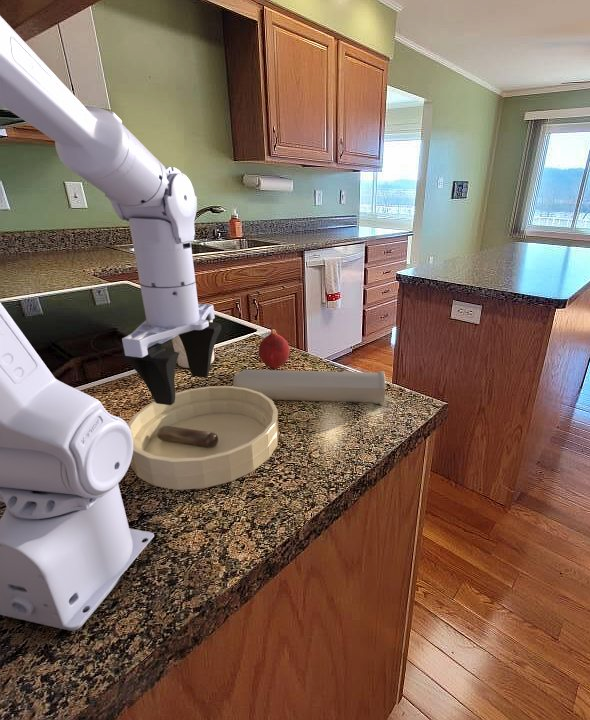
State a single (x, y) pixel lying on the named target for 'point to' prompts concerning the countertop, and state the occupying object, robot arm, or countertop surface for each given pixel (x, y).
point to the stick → (187, 436)
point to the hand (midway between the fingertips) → (184, 388)
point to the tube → (314, 385)
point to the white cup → (183, 351)
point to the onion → (274, 350)
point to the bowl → (211, 414)
